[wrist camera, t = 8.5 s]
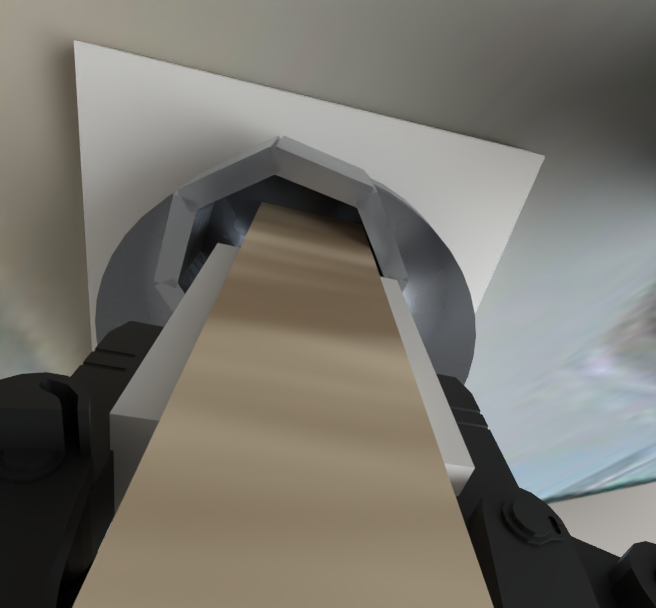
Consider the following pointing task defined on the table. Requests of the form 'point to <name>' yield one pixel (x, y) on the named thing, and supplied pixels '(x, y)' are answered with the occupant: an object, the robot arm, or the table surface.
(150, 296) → the dial
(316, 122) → the plate
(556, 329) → the table surface
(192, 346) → the robot arm
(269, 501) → the stick
